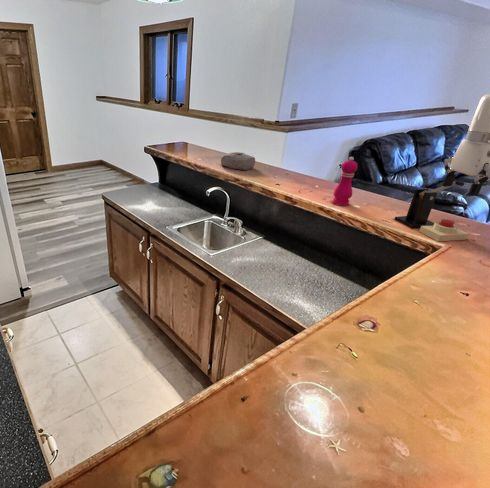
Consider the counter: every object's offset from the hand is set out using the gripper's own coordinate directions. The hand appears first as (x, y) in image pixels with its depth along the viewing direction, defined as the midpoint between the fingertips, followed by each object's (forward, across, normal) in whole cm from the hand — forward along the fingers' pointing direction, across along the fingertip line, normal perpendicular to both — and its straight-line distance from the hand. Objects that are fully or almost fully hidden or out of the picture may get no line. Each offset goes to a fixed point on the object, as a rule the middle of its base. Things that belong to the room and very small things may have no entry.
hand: (459, 190), depth 115 cm
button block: (+16, -1, +1) cm, 16 cm away
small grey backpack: (+17, +100, +43) cm, 110 cm away
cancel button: (+12, -1, +1) cm, 12 cm away
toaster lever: (+4, +10, -4) cm, 11 cm away
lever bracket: (+16, +10, +2) cm, 19 cm away
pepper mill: (+16, +34, +17) cm, 41 cm away
